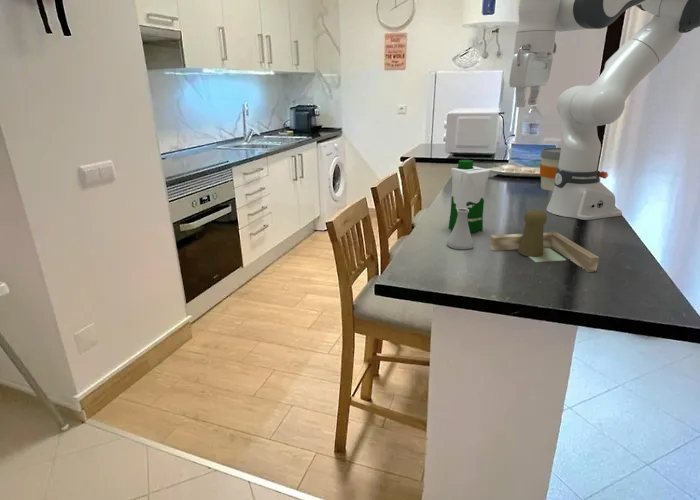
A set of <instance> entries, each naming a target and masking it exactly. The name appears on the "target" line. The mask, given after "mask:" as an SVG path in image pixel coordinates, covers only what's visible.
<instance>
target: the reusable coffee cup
mask: <svg viewBox="0 0 700 500" xmlns="http://www.w3.org/2000/svg"><path fill="white" fill-rule="evenodd" d="M560 152H561V147H545V148H541V153H540V159H541V160H540V163H539V176H540V188H541V189H542V190H546V191H551V192H553V190H554V186H555V174H556V169H557V167H558V165H559V159H560Z"/></svg>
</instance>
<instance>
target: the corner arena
mask: <svg viewBox="0 0 700 500" xmlns="http://www.w3.org/2000/svg"><path fill="white" fill-rule="evenodd" d="M522 235H523V233H511V234H510V233H509V234H508V233H507V234H493V235H492V234H491V235H490V241H489V249H490V250H491V251H494V252H495V251H509V250H510V251H511V250H512V251H513V250H518V249H519V246H520V242H521V239H522ZM554 250H555V251H554ZM561 255H562V256H561ZM527 258H529V259H530V260H532V261H533V262H534V263H546V262H547V263H548V262H549V263H550V262H567V261H566V260H567V259H568V260H569V259H570V260H569V261H571V262H573V263H574V264H575V265H577V266H578V267H580V268H581V267H582V268H581V269H582V270H584V269H585V270H584V271H586V272H587V273H589V272H590V273H593V272H594V271H595V272H597V268H598V264H599V259H600V257H599V256H597V255H596V254H594V253H593V252H592V251H589V250H587V249H586V248H584V247H582V246H581V245H579V244H577V243H576V242H574V241H572V240H570V239H569V238H567V237H565V236H564V235H562V234H560V233H558V232H557V231H550V232H549V231H546V232H544V231H543V255H542V256H539V257H529V256H527Z"/></svg>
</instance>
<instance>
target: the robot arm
mask: <svg viewBox="0 0 700 500" xmlns="http://www.w3.org/2000/svg"><path fill="white" fill-rule="evenodd" d="M634 6H636V7H637V8H638V9H639V10H641V11H642V12H643V11H644V12H647V13H649V14H651V15H653V17H652V18H651V20H650V21H649V22H647V23H646V24H645V25H643V26H642V27H641V28H640V29H639V30H638V31H636V32H635V33H634V34H633V35H632V36H630V38H629V39H627V41H626V42H624V44H623V45H621V46H620V47H619V48H618V49H617V51H615V52H614V53H613V54H612V55H611V56H610V57H609V58H608V59H607V60H606V61H605V64H604V68H603V70H602V72H601V74H600V75H598V76H599V77H597V79H596V80H594V82H593V83H591V84H590V85H586V84H585V85H583V84H579V85H575V86H572V87H569V88H568V89H566V90H564V91H563V92H562V93H561V94H560V95H559V96H558V98H557V101H556V110H557V112H558V115H559V119H560V131H561V143H560V144H561V145H560V148H561V152H560V159H559V165H558V167H557V169H556V174H555V186H554V190H553V191H552V194H551V197H550V199H549V202H548V204H547V206H546V211H547V212H548V213H550V214H553V215H558V216H561V217H565V218H566V217H567V218H572V219H573V218H575V219H579V220H583V221H589V220H590V221H591V220H598V219H604V218H606V219H607V218H611V217H620V216H622V215H623V212H622V210H621V209H619V208H618V207H616V196H615V194H614V192H612V191H611V190H610V189H609V188H608V187H606V186H605V185H604V184H603V183H602V182H601V179H600V178H602V179H603V180H604V179H605V180H606V179H607V178H608V176H609V173H608V172H607V171H603V170H602V171H600V170H598V164H599V160H600V155H601V149H602V148H601V147H602V144H601V141H600V139H599V136H598V135H599V134H598V126H604V125H605V126H606V125H610V124H612V123H614V122H616V121H617V120H618V119H619V118H620V117H621V116H622V114H623V112H624V110H625V106H626V100H627V99H628V98H629V96H630V95H631V93H632V91H633V90H634V89H635V88H636V87H637V86H638V85H639V83H640V82H641V81H643V79H645V78H646V76H648V75H649V74H650V73H651V72H652V71H653V70H654V69H655V68H656V67H657V66H658V65H659V64H660V63H661V62H662V61H663V60H664V59H665V58H666V57H667V56H668V55H669V53H671V52H672V50H674V48H675V46H676V45H677V43H679V41H680V40H681V38H682V36H683V34H686V33H690V32H691V31H693V30H694V29H697V28H699V27H700V0H519V5H518V25H517V27H516V31H515V40H514V49H513V56H512V57H513V59H512V62H511V66H510V73H509V81H508V84H509V87H510V88H515V97H516V101H515V106H516V108H524V107H526V102H527V101H528V102H527V105H529V106H535V105H537V102H538V97H539V94H540V91H541V87H542V86H546V85H547V84H548V81H549V78H550V76H551V75H550V74H551V69H552V64H553V59H554V58H553V57H554V56H553V55H555V54H556V52H557V44H556V42H555V41H556V33H557V32H558V33H559V32H561V33H562V32H570V31H571V32H572V31H580V30H596V29H597V30H601V29H604V28H607V27H609V26H610V25H611V24H613V23H614V22H615V21H617V19H618V18H619V17H620V16H621V15H622V14H624V12H625V11H627V10H628V9H630V8H632V7H634ZM528 88H530V89H529V90H530V94H529V97H528V99H527V100H526V93H527V89H528Z"/></svg>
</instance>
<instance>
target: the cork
mask: <svg viewBox="0 0 700 500" xmlns="http://www.w3.org/2000/svg"><path fill="white" fill-rule="evenodd" d="M523 220H524V223H525V225H524V229H523V233H522V234H523V235H522V239H521V242H520V246H519V249H517V250H518V251H517V252H518V254H521V255H522V256H525V257H528V256H529V257H539V256H542V255H543V232H544V225H545V224H546V223H547V220H548V216H547V213H546V212H545V211H543V210H539V209H530V210H527V211H526V212H525V214H524V219H523ZM529 257H528V258H529Z"/></svg>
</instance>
